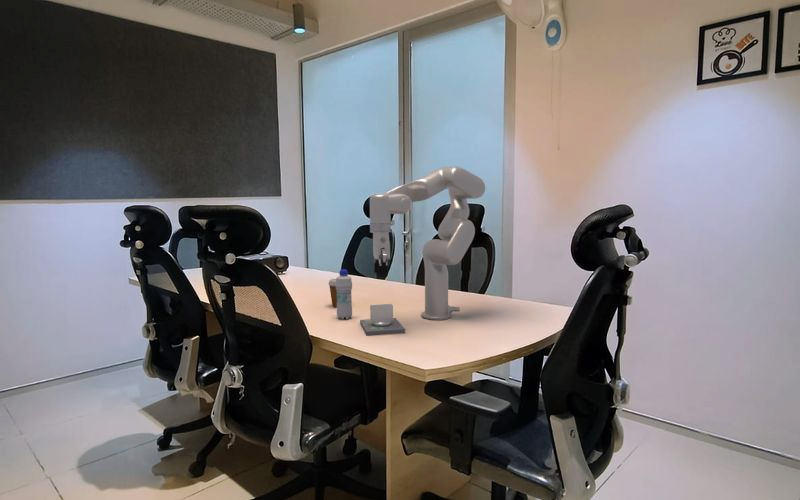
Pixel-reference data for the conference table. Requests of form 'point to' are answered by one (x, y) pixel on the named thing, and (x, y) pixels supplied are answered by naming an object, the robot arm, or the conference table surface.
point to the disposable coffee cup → (333, 292)
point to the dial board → (382, 328)
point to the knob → (380, 315)
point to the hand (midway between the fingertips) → (380, 274)
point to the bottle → (344, 295)
